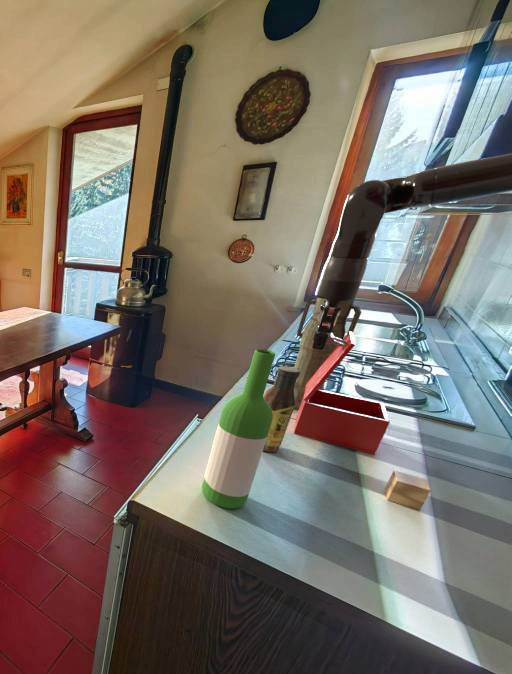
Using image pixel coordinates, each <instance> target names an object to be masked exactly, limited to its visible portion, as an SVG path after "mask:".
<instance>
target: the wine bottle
mask: <svg viewBox="0 0 512 674" xmlns="http://www.w3.org/2000/svg"><path fill="white" fill-rule="evenodd" d="M275 358H276V353H275V351H272V350H268V349H262V348H260V349H258V348H257V349H255V350H254V353H253V356H252V359H251V363H250V366H249V370H248V373H247V376H246V380H245V383H244V387H243V389H242V392H241V393H237V394H235V395H234V396H232V397H230V398H228V400H227V401H226V402H225V403H224V405H223V407H222V409H221V414H220V417H219V421H218V424H217V428H216V431H215V434H214V435H215V436H214V439H213V443H212V446H211V451H210V454H209V456H208V462H207V465H206V468H205V472H204V477H203V481H202V485H201V492H202V494H203V496H204V497H205V498H206V499H207V501H209V502H210V503H212V504H214V505H216V506H218V507H219V508H220V507H221V508H224V509H231V510H234V509H240V508H242V507H243V506H245V504H246V503H247V500H248V497H249V494H250V492H251V489H252V485H253V483H254V481H255V476H256V473H257V470H258V467H259V464H260V461H261V459H262V455H263V452H264V451H263V449H264V446H265V443H266V439H267V436H268V433H269V430H270V427H271V423H272V419H273V413H272V409H271V407H270V405H269V403H268V402H267V401H266V400H265V399H264V395H265V392H266V389H267V388H266V387H267V384H268V380H269V377H270V374H271V371H272V368H273V364H274V360H275Z"/></svg>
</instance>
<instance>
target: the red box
mask: <svg viewBox="0 0 512 674" xmlns="http://www.w3.org/2000/svg"><path fill="white" fill-rule="evenodd" d="M390 422H391V421H390V417H389V415H388V412H387V409H386V405H385V403H384V402H380V401H376V400H371V399H365V398H361V397H357V396H356V397H355V396H351V395H347V394H341V393H338V392H337V393H336V392H333V391H327V390H324V391H323V390H317V391H316V392H315V393H314V394H313V395H312V397H311V398H310V399H309V400H308V401H304V396H303V399H302V402H301V405H300V408H299V410H297V413H296V417H295V424H294V430H293V434H294V435H299V436H302V437H306V438H310V439H313V440H317V441H321V442H325V443H328V444H331V445H336V446H339V447H344V448H347V449H351V450H355V451H358V452H362V453H366V454H370V455H373V456H374V455H376V453H377V451H378V449H379V448H380V447H379V446H380V444H381V442H382V440H383V439H384V436H385V433H386V431H387V429H388V427H389V425H390Z"/></svg>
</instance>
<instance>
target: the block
mask: <svg viewBox="0 0 512 674" xmlns="http://www.w3.org/2000/svg"><path fill="white" fill-rule="evenodd" d="M384 491H385V496H386V500H387V501H389V502H392V503H394V504H399V505H402V506H405V507H408V508H412V509H415V510H417V511H421V509H422V507H423V506H424V504H425V502H426V500H427V498H428V497H429V495H430V493H431V487H430V485H429V483H428V480H427V479H426V478H425V477H421V476H417V475H414V474H411V473H406V472H403V471H399V470H395V469H393V471H392V472H391V475H390V477H389V479H388V481H387V483H386V485H385V486H384Z"/></svg>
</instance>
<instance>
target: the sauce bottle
mask: <svg viewBox="0 0 512 674" xmlns="http://www.w3.org/2000/svg"><path fill="white" fill-rule="evenodd" d="M299 374H300V371H299V370H298V369H295V368H294V367H291V366H286V365H285V366H279V367H278V368H277V371H276V377H275V380H274V382H273V385H272V386H271V387H270V388H268V389H267V390H265V392H264V395H263V397H264V399H265V400H266V401H267V402H268V403H269V405H270V407H271V409H272V413H273V419H272V423H271V427H270V430H269V433H268V436H267V439H266V443H265V446H264V449H263V452H268V453H274V452H275V453H276V452H277V451H279V449H280V447H281V446H282V443H283V441H284V439H285V438H284V437H285V435H286V433H287V430H288V428H289V427H288V426H289V424H290V422H291V418H292V415H293V413H294V410H295V409H294V407H295V399H294V386H295V383H296V380H297V378H298V377H299Z"/></svg>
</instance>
